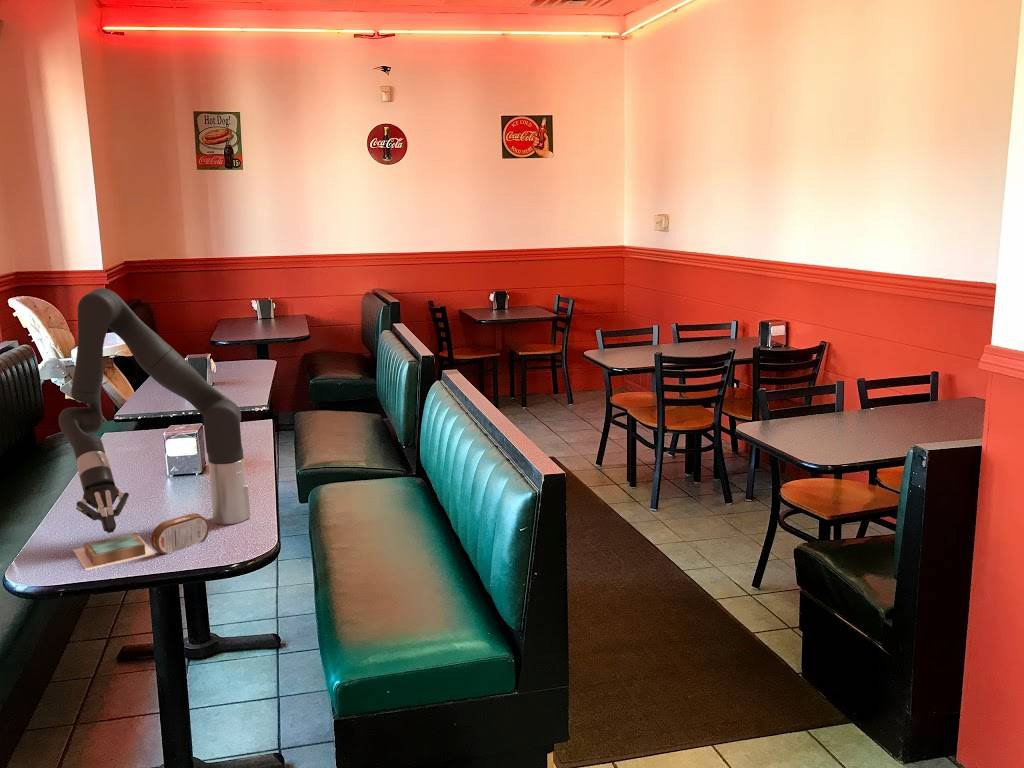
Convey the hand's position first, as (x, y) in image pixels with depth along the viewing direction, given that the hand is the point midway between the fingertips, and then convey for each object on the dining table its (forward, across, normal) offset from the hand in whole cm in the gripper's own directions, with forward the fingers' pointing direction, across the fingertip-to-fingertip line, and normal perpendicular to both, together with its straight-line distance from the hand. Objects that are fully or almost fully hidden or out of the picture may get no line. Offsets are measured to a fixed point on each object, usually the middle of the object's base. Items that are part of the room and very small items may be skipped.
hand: (110, 531), depth 223 cm
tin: (+10, +15, -1) cm, 18 cm away
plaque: (+1, 0, +5) cm, 5 cm away
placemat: (+5, 0, +4) cm, 6 cm away
